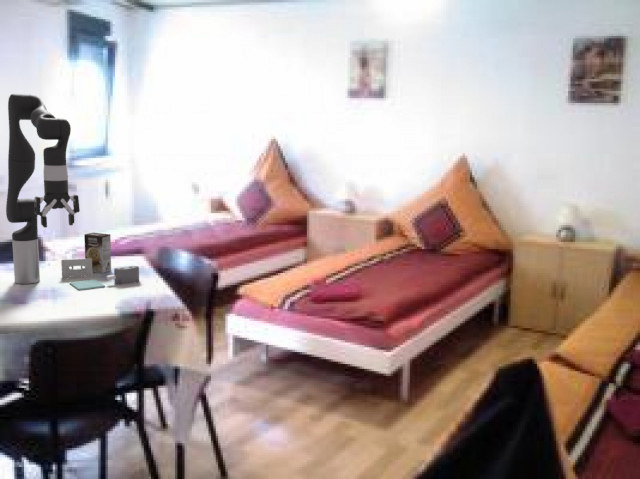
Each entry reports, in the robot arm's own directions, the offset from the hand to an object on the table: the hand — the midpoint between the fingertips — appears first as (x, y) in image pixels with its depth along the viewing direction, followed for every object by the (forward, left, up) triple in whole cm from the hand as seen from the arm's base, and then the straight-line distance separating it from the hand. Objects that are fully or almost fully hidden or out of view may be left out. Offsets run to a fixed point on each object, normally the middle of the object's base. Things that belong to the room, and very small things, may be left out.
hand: (58, 226), depth 223 cm
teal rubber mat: (-26, +17, -29) cm, 42 cm away
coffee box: (-49, +29, -29) cm, 64 cm away
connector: (-23, +30, -29) cm, 48 cm away
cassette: (-42, +18, -29) cm, 54 cm away
